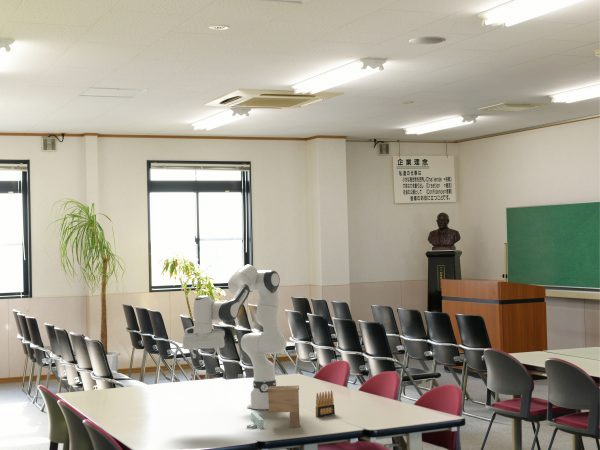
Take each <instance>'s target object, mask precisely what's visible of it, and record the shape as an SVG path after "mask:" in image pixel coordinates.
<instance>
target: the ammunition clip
mask: <svg viewBox="0 0 600 450" xmlns="http://www.w3.org/2000/svg"><path fill="white" fill-rule="evenodd" d="M335 413H336V411H335V404H334V392H333V390H328V391H325V392H324V391H322V392H321V391H320V392H317V393H316V401H315V418H318V419H320V418H324V416H325V417H330V416H336V414H335Z"/></svg>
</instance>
